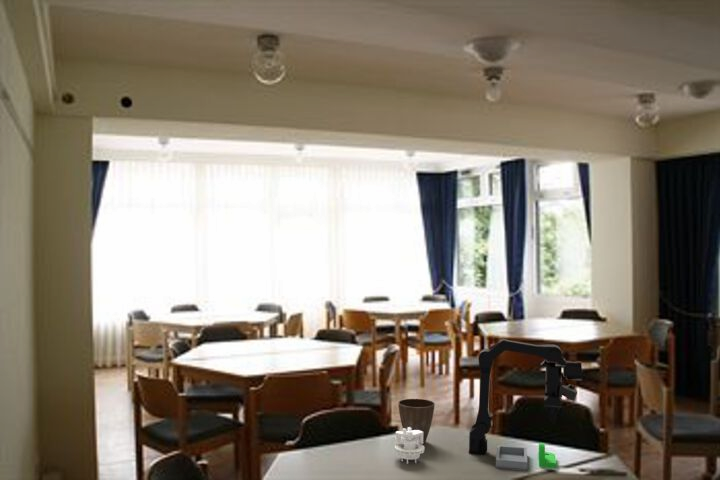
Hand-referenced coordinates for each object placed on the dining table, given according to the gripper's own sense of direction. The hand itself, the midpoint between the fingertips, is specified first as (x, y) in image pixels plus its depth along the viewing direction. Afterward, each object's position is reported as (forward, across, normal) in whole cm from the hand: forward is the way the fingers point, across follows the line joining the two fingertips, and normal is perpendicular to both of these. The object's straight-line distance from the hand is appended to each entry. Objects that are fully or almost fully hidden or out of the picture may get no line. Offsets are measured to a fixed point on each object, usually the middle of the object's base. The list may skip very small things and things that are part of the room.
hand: (553, 419), depth 241 cm
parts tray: (+14, -9, +15) cm, 22 cm away
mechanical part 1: (+15, -20, +51) cm, 57 cm away
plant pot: (+15, +3, +54) cm, 56 cm away
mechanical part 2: (+15, -5, +2) cm, 16 cm away
